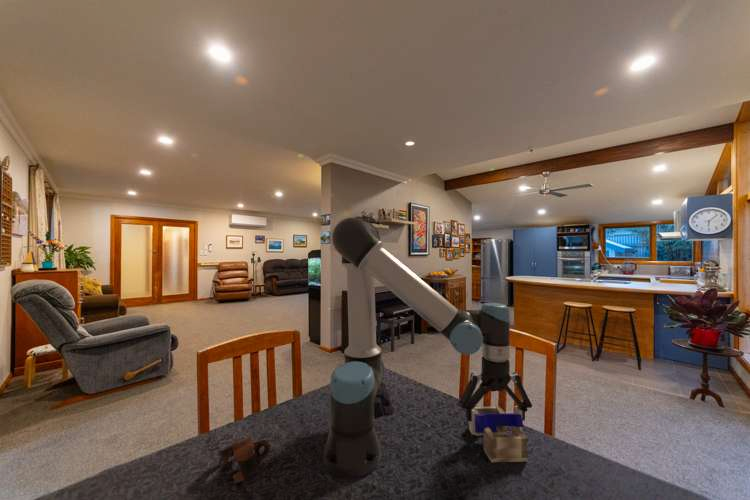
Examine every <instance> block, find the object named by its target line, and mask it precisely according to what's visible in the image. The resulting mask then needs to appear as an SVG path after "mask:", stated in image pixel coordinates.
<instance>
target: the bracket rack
mask: <svg viewBox="0 0 750 500" xmlns="http://www.w3.org/2000/svg"><path fill="white" fill-rule="evenodd" d="M473 409H474V411H475V414H502V413H506V412H505V411H504V409H503V408H501V406H475V407H474V408H473ZM496 429H497V432H492V431H491V430H490V428H484V433H476V432H475V435H474V436H475V437H483V450H484V452H485V454H486V456H487V458H488V460H489V461H490V462H491V463H521V462H526V463H527V462H528V437H526V435H525V434H524V433H523V431H522V432H521V431H520V430H519V428H518V427H514V426H511V435H510V436H508V426H496Z"/></svg>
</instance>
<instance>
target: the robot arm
mask: <svg viewBox="0 0 750 500" xmlns="http://www.w3.org/2000/svg"><path fill="white" fill-rule="evenodd" d="M331 240H332V242H331V243H332V245H333V247H334V249H335V251H336V252H337V253H338V254H339V255H341V265H342V266H343V267H344V268H345V269H346V282H347V283H346V284H347V286H346V288H347V319H348V323H347V324H348V346H347V347H346V348H345V349H344V355H343V356H344V363H343V364H339V365H338V366H336V367H335V368H334V369H333V371H332V372H331V375H330V381H329V391H330V392H329V396H330V399H329V403H330V404H329V405H330V407H329V408H330V409H329V410H330V415H329V416H330V419H329V420H330V428H329V429H330V430H329V433H328V436H327V439H326V443H325V446H324V449H323V463H324V466H325V468H326V470H327V471H328V472H329V473H331V474H332V475H335V476H336V477H339V478H344V479H345V478H346V479H357V478H362V477H365V476H366V475H369V474H371V473H372V472H373V471H375V470H376V468H377V467H378V466H379V464H380V462H381V458H382V457H381V455H382V450H381V449H382V448H381V445H380V441H379V438H378V435H377V432H376V429H375V416H374V400H375V397H376V394H377V391H378V388H379V386H380V383H381V382H383V379H384V376H385V365H384V360H383V358H382V349H381V346H379V345H378V344H377V327H376V324H377V323H376V322H377V321H376V295H375V294H376V293H375V292H376V289H375V279H376V281H378V282H379V283H381V284H382V285H383V286H384V287H385V288H386V289H387V290H389V291H390V292H391V293H392V294H393V295H395V296H396V297H397V298H398V299H400V300H401V301H402V302H403V303H404V304H406V306H408V307H409V308H410V309H411V310H413V311H414V313H416V314H417V315H419V317H420V318H422V319H423V320H424V321H426V322H427V323H428V324H430V325H431V326H432V327H433V328H434V329H435V330H437V332H439V333H440V334H441V335H442V336H443V337H444V338H446V339H447V340H448V341H449V342H450V344H451V346H452V347H453V348H454V349H455V351H456V352H457V353H459V354H462V355H466V356H467V355H469V356H471V355H474V354H476V353H478V351H480V349H481V373H480V374H475V373H474V372H471V373H470V375H469V381H468V383H467V385H466V388H464V389H465V390H464V391H463V394H462V395H461V397H460V399H459V402H458V403H459V405H460V407H461V408H462V409H465V419H466V421H468V429H469V431H470V434H471V435H474V436H475V411H474V409H473V408H474V407H477V404H478V403H479V402H480V401H481V400H482V399H483V398H484V396H485V395H486V394H488V393H489V392H496V391H497V392H503V391H506V393H507V394H508V395H509V397H511V399H512V400H513V401H514V402H515V404H516V405H514V414H520V415H521V416H522V421H523V422H525V420H526V412H527V411H528V409H531V408H532V407H533V404H532V402H531V401H530V398H529V396H528V394H527V393H526V390H525V388H524V386H523V384H522V378H521V376H520V375H519V374H518V373H517V372H512V374H510V370H511V369H510V367H511V366H510V365H511V362H510V357H511V356H510V348H511V347H510V345H511V344H510V334H511V333H510V332H511V328H510V326H511V317H510V308H509V306H507V305H506V304H505V303H500V302H484V303H482V305H481V308H480V309H458V308H457V307H455V306H454V305H453V304H452V303H450V302H449V301H448V300H447V299H446V298H444V296H443V295H441V294H440V293H439V292H437V291H436V290H435V289H434V288H432V287H431V286H430V285H429V284H428V283H426V282H425V281H424V280H422V279H421V278H420V277H419V275H417V274H416V273H414V272H413V271H412V270H411V269H409V268H408V267H407V266H406V265H405V264H403V262H401V261H400V260H398V259H397V257H395V256H394V255H393V254H391V253H390V252H389V251H388V250H387V249H386V248H384V247H383V241H381V235H380V232H379V231H378V229H377V228H376V227H375V225H373V224H372V223H371V222H369V221H365V220H363V219H361V218H359V217H346V218H344V219H342V220H340V221H339V222H338V223H337V224H336V226H335V227H334V228H333V232H332V236H331ZM480 381H481V382H480ZM511 381H512V382H513V384H514V386H515V388H516V389H517V392H518V394H519V396H520V398H521V400H522V401H521V400H520V398H518V396H517V395H516V394H515V393H514V392H513V390H512V389H511V387H509V383H510V382H511ZM479 383H480V384H479ZM478 384H479V385H478ZM477 386H478V388H477ZM518 428H519V430H520V431H521V432H522V433H523V427H518Z"/></svg>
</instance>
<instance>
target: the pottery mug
mask: <svg viewBox="0 0 750 500" xmlns="http://www.w3.org/2000/svg"><path fill="white" fill-rule="evenodd" d="M262 447H264V448H263V452H262V453H261V452H260V450H261V448H262ZM270 450H271V445H270V443H269V441H268V440H266V439H262V440H260V441H257V442H254V441H253V440H252V437H251V436H249V437H246V438H243V439H242V440H241V441H240V442H235V443H233V444H231V445H229V446H227V447H225V448H224V449H222V450H221V451H220V455H221V457H220V459H219V462H218V466H221V464H224V465H227V464H228V463H229V459H230V458H231V457H232V460H233V462H234V463H237V464H238V465H239V468H240V470H239V471H237V472H236V473H233V475H232V478H233V481H234V483H235V482H240V481H242V482H244V481H246V480H247V479H250V478H251V477H253V476H255V475H256V474H257V473H258V471H259V465H261V464H262V462H263V460H264V459H266V458H267V457H268V456H269V453H270V452H271V451H270ZM240 483H241V482H240Z"/></svg>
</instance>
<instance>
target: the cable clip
mask: <svg viewBox="0 0 750 500" xmlns="http://www.w3.org/2000/svg"><path fill="white" fill-rule="evenodd" d="M496 426H507V427H522V428H524V421H522V416H521V415H520V414H515V413H511V412H510V413H509V412H508V413H507V412H505V413H502V414H475V432H476V433H484V428H490V430H491V431H492V432H497V429H496Z"/></svg>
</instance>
